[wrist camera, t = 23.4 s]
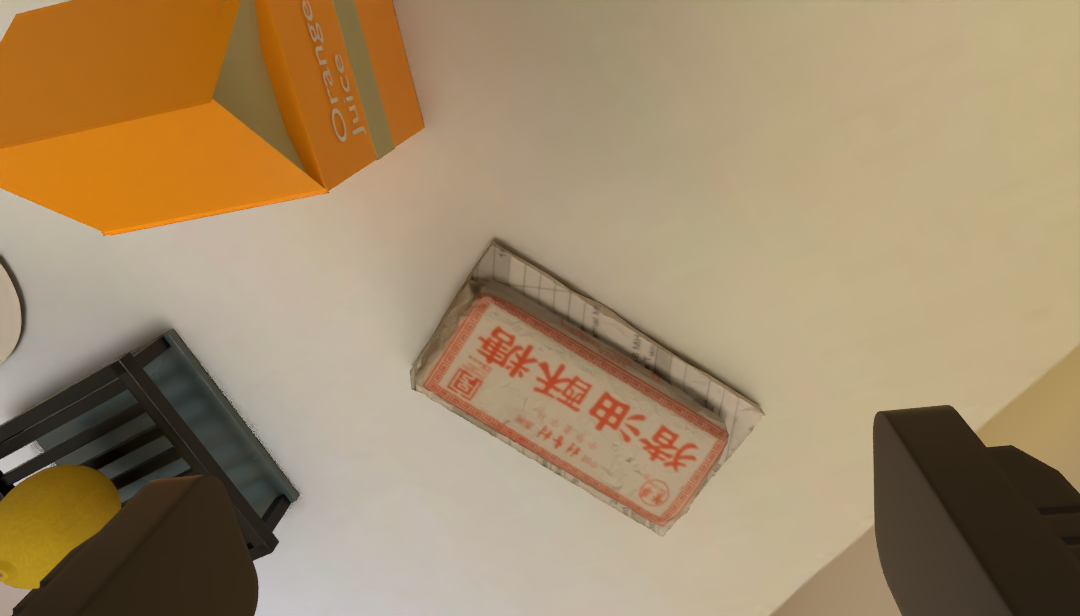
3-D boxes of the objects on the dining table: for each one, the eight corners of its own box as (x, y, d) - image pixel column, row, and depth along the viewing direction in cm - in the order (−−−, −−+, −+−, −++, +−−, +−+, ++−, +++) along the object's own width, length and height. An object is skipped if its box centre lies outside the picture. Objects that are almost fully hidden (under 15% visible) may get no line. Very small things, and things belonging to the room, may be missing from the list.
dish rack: (16, 409, 49) (-94, 484, 42) (171, 321, 46) (82, 385, 38) (153, 569, 53) (75, 664, 45) (306, 498, 50) (249, 589, 42)
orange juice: (426, 130, 40) (263, 241, 22) (269, 162, 42) (-11, 292, 23) (384, -32, 37) (157, -62, 19) (218, 8, 39) (-145, 17, 20)
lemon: (162, 516, 45) (72, 618, 38) (76, 522, 46) (-28, 623, 38) (130, 433, 43) (29, 523, 36) (41, 442, 44) (-76, 531, 36)
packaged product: (385, 412, 41) (479, 263, 37) (408, 372, 45) (494, 235, 42) (666, 576, 43) (781, 449, 40) (662, 522, 48) (764, 404, 44)
